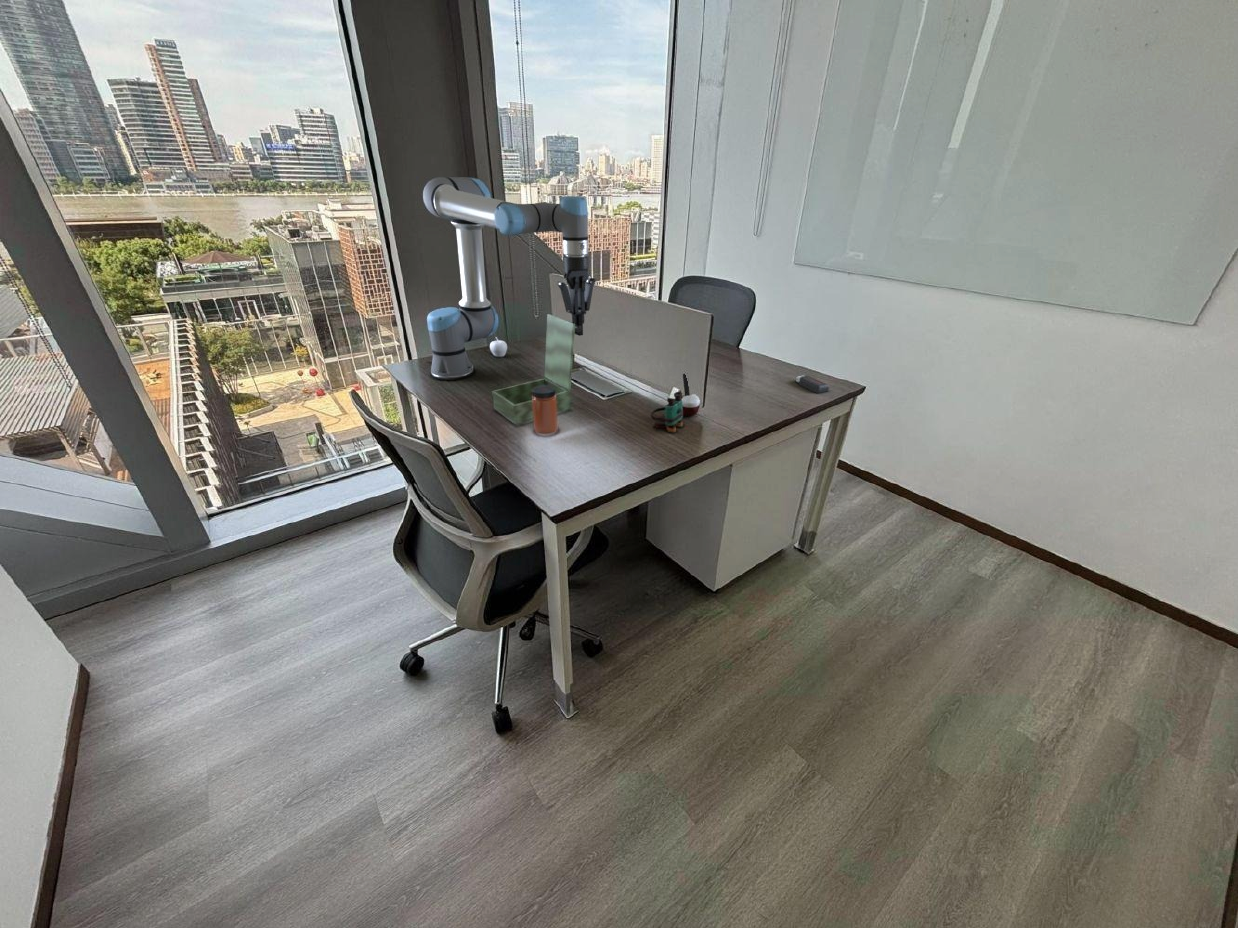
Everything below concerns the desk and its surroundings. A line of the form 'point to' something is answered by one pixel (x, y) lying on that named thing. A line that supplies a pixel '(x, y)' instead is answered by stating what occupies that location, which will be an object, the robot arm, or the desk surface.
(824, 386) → the usb drive
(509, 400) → the chest
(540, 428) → the jar
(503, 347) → the plain white apple
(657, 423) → the binoculars
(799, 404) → the desk surface
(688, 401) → the rice bowl with chopsticks
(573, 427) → the desk surface
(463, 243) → the robot arm
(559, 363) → the lid
